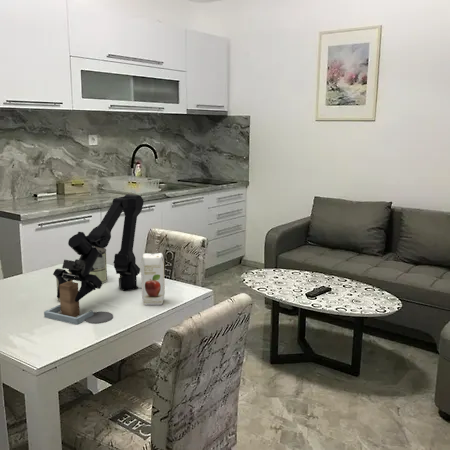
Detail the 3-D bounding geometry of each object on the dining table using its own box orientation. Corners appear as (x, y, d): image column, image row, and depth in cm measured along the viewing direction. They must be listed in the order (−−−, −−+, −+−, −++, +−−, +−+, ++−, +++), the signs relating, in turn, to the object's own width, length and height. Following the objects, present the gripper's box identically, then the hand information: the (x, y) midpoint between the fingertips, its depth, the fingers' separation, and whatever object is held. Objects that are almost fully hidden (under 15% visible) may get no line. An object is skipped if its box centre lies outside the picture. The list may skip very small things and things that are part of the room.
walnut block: (70, 312, 177) (68, 281, 174) (79, 314, 175) (78, 283, 172) (61, 316, 173) (59, 284, 170) (70, 319, 171) (68, 286, 168)
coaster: (107, 310, 179) (107, 309, 179) (117, 319, 171) (117, 318, 171) (80, 315, 174) (80, 314, 174) (89, 325, 166) (88, 324, 165)
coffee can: (78, 281, 211) (76, 250, 208) (97, 276, 219) (95, 245, 217) (93, 286, 205) (92, 254, 203) (112, 280, 214) (111, 249, 211)
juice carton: (143, 299, 191) (141, 252, 187) (165, 298, 192) (164, 252, 188) (141, 306, 184) (140, 257, 180) (164, 305, 184) (163, 257, 181)
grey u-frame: (61, 309, 180) (61, 303, 180) (93, 316, 174) (93, 310, 173) (44, 316, 173) (43, 311, 172) (76, 324, 166) (76, 319, 166)
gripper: (55, 247, 177) (33, 284, 169) (95, 253, 169) (74, 293, 161) (71, 262, 185) (51, 299, 178) (110, 269, 177) (91, 307, 170)
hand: (66, 299), depth 171 cm, fingers open, 8 cm apart
